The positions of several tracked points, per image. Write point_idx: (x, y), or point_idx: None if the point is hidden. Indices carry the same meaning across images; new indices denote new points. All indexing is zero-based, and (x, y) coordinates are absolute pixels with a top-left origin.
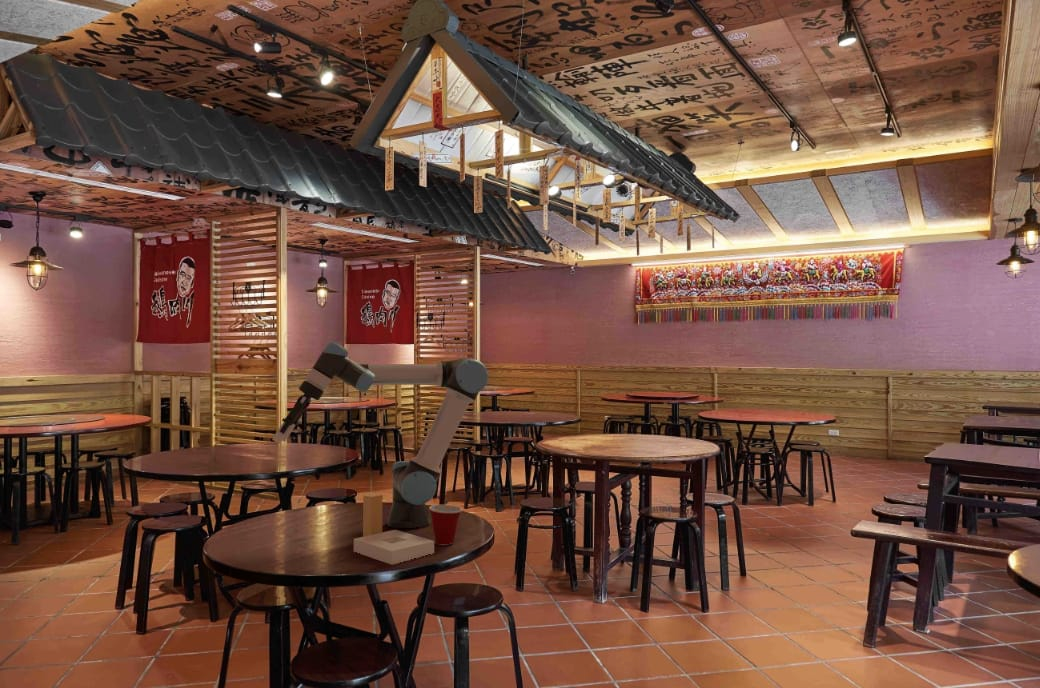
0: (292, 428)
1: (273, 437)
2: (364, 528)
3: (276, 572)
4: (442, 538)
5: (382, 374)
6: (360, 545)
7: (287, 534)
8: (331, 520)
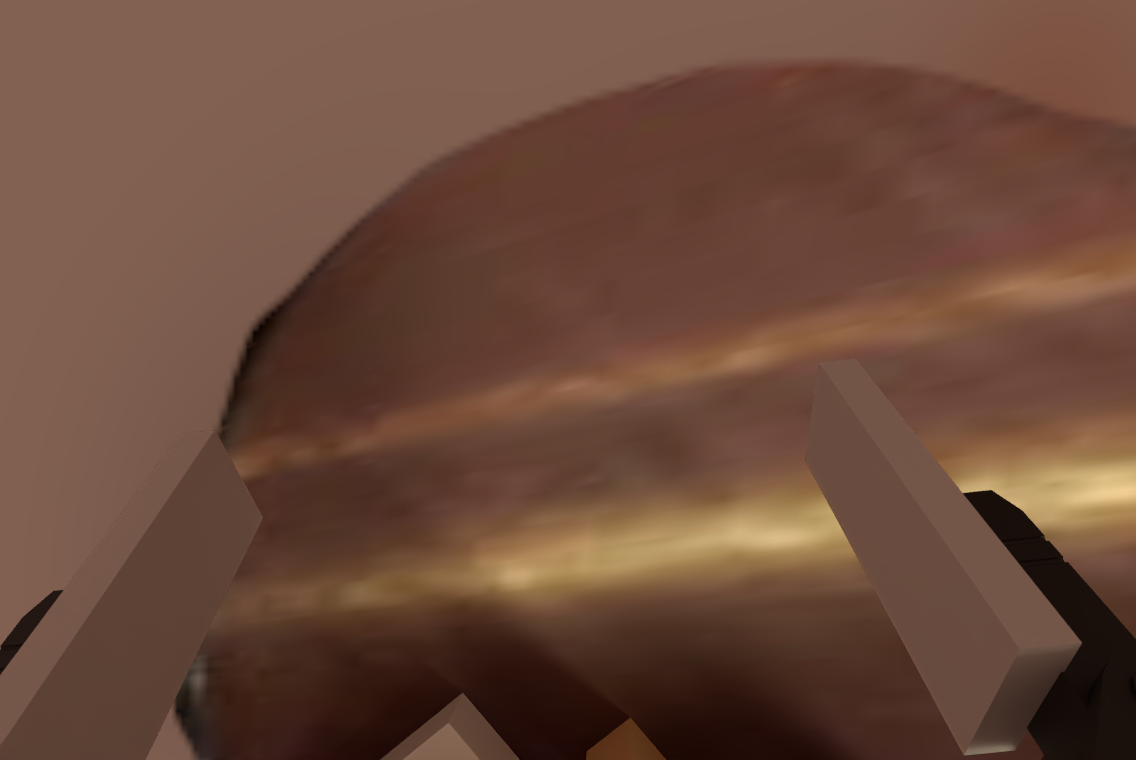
0: (915, 658)
1: (165, 457)
2: (622, 758)
3: None
4: None
5: None
6: (417, 740)
7: (768, 377)
8: None
